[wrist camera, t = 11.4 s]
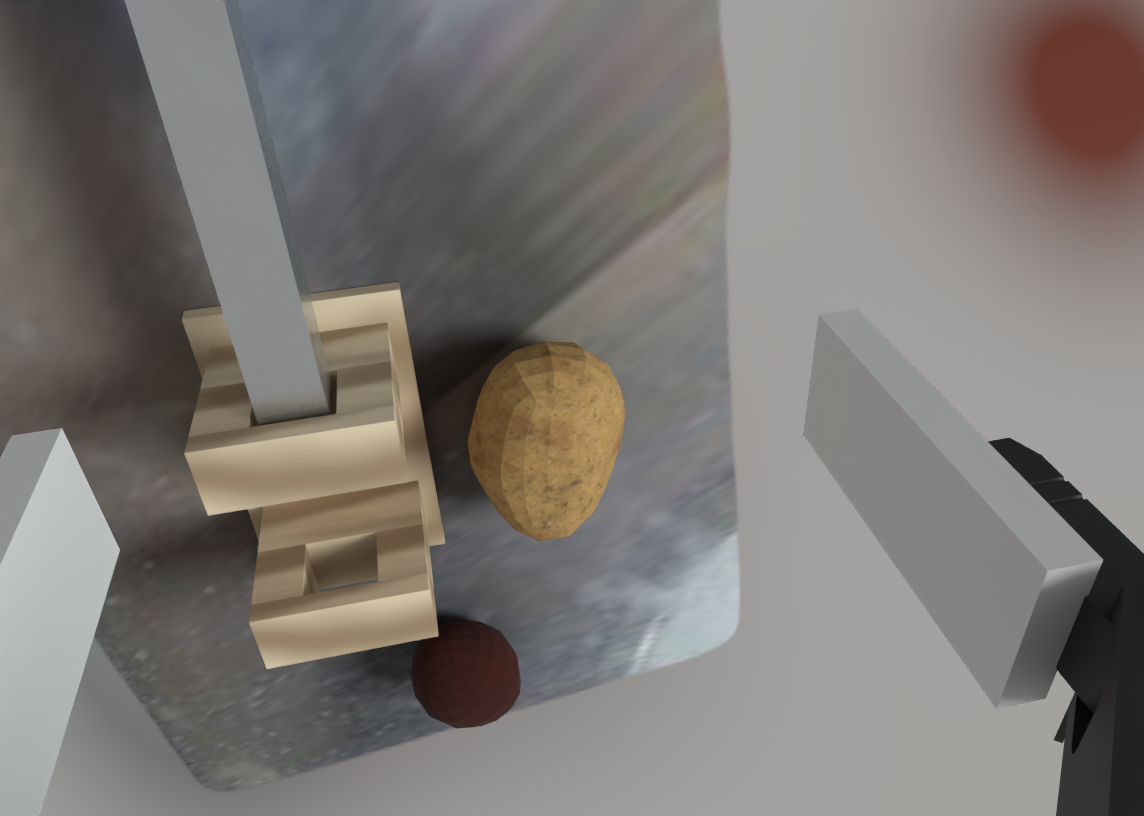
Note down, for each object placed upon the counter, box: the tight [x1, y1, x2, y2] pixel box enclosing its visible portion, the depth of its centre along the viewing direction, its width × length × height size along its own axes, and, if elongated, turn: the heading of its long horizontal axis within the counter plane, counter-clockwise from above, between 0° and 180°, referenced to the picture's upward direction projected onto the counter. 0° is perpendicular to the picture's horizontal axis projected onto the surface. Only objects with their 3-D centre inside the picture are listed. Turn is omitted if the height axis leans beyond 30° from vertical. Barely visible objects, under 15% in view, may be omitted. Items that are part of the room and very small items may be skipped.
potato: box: [468, 341, 626, 541], centre depth 55 cm, size 10×14×8 cm
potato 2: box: [411, 620, 521, 728], centre depth 66 cm, size 8×9×8 cm
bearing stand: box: [182, 282, 445, 669], centre depth 52 cm, size 20×12×11 cm, turn 3°
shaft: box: [125, 0, 337, 426], centre depth 39 cm, size 26×5×5 cm, turn 3°
